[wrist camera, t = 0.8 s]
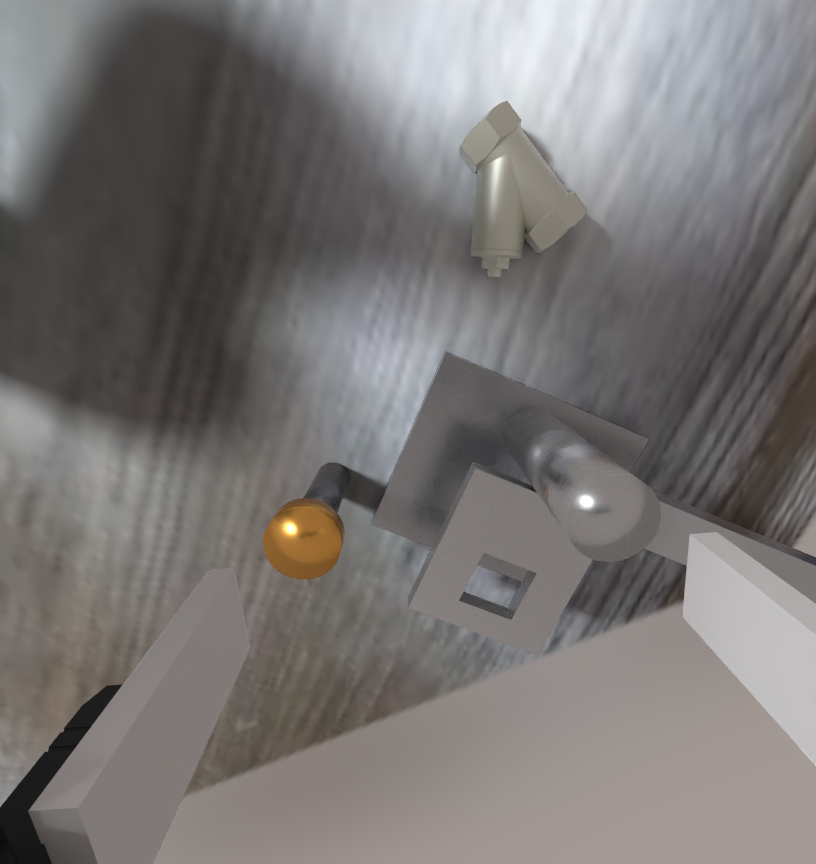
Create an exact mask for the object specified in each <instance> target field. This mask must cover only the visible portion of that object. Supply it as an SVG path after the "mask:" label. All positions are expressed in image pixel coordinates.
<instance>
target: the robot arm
mask: <svg viewBox="0 0 816 864" xmlns="http://www.w3.org/2000/svg"><path fill="white" fill-rule="evenodd" d="M682 616H683V618H684V619H685V620H686V621H687V622H688V623H689V625H690V626H691V627H692V628H693V629H694V630H695V631H696V633H697V634H698V635H699V636H700V637H701V638H702V639H703V640H704V642H705V643H706V644H707V645H708V646H709V647H710V648H711V649H712V650H713V652H715V654H716V655H717V656H718V657H719V658H720V659H721V661H722V662H723V663H724V664H725V665H726V666H727V667H728V668H729V670H730V671H731V672H732V673H733V674H734V675H735V676H736V677H737V678H738V680H739V681H740V682H741V683H742V684H743V685H744V686H745V687H746V688H747V690H748V691H749V692H750V693H751V694H752V695H753V696H754V697H755V699H756V700H757V701H758V702H759V703H760V704H761V705H762V706H763V708H764V709H765V710H766V711H767V712H768V713H769V714H770V715H771V716H772V718H773V719H774V720H775V721H776V722H777V723H778V724H779V725H780V726H781V728H782V729H783V730H784V731H785V732H786V733H787V734H788V735H789V737H790V738H791V739H792V740H793V741H794V742H795V743H796V744H797V746H798V747H799V748H800V749H801V750H802V751H803V752H804V753H805V755H806V756H807V757H808V758H809V759H810V760H811V761H812V762H813V764H814V765H815V766H816V604H815V603H814V602H813V601H811V600H810V599H808V598H807V597H806V596H804V595H803V594H802V593H800V592H799V591H797V590H796V589H795V588H793V587H792V586H790V585H789V584H788V583H786V582H785V581H784V580H782V579H781V578H779V577H778V576H777V575H775V574H774V573H773V572H771V571H770V570H768V569H767V568H766V567H764V566H763V565H761V564H760V563H759V562H757V561H756V560H755V559H753V558H752V557H750V556H749V555H748V554H746V553H745V552H744V551H742V550H741V549H739V548H738V547H737V546H735V545H734V544H732V543H731V542H730V541H728V540H727V539H726V538H724V537H723V536H721V535H720V534H719V533H717V532H711V533H697V534H690V536H689V548H688V559H687V570H686V582H685V593H684V604H683V615H682ZM249 650H250V643H249V638H248V633H247V628H246V623H245V618H244V613H243V608H242V603H241V598H240V593H239V588H238V583H237V578H236V573H235V568H229V569H216V570H208V571H207V572H206V574H205V575H204V576H203V578H202V579H201V580H200V582H199V583H198V584H197V586H196V587H195V589H194V590H193V591H192V593H191V594H190V595H189V597H188V598H187V599H186V601H185V602H184V603H183V605H182V606H181V607H180V609H179V610H178V611H177V613H176V614H175V615H174V617H173V618H172V619H171V621H170V622H169V623H168V625H167V626H166V627H165V629H164V630H163V631H162V633H161V634H160V635H159V637H158V638H157V639H156V641H155V642H154V643H153V645H152V646H151V647H150V649H149V650H148V651H147V653H146V654H145V655H144V657H143V658H142V659H141V661H140V662H139V663H138V665H137V666H136V667H135V669H134V670H133V672H132V673H131V674H130V676H129V677H128V678H127V680H126V681H125V682H124V684H123V685H110V686H106V687H105V688H104V689H102V690H101V691H100V692H99V693H97V694H96V695H95V696H94V697H92V698H91V699H90V700H89V701H87V702H86V703H85V704H84V705H83V706H82V707H81V708H80V709H79V710H78V712H77V713H76V714H75V715H74V717H73V718H72V719H71V720H70V722H69V723H68V724H67V725H66V727H65V728H64V732H62V733H60V734H59V735H58V736H57V738H56V739H55V740H54V741H53V743H52V744H51V745H50V746H49V750H48V752H45V753H44V754H43V755H42V756H41V757H40V759H39V760H38V761H37V762H36V764H35V765H34V766H33V767H32V769H31V770H30V771H29V772H28V774H27V775H26V776H25V777H24V779H23V780H22V781H21V782H20V783H19V785H18V786H17V787H16V788H15V790H14V791H13V792H12V793H11V795H10V796H9V797H8V798H7V800H6V801H5V802H4V803H3V804H2V806H1V807H0V864H153V862H154V860H155V858H156V855H157V853H158V851H159V849H160V847H161V844H162V842H163V840H164V838H165V835H166V833H167V831H168V829H169V827H170V824H171V822H172V820H173V818H174V816H175V813H176V811H177V809H178V807H179V805H180V802H181V800H182V798H183V796H184V794H185V791H186V789H187V787H188V785H189V783H190V780H191V778H192V776H193V774H194V772H195V769H196V767H197V765H198V763H199V760H200V758H201V756H202V754H203V752H204V749H205V747H206V745H207V743H208V741H209V738H210V736H211V734H212V732H213V730H214V727H215V725H216V723H217V721H218V719H219V716H220V714H221V712H222V710H223V708H224V705H225V703H226V701H227V699H228V696H229V694H230V692H231V690H232V688H233V685H234V683H235V681H236V679H237V677H238V674H239V672H240V670H241V668H242V666H243V663H244V661H245V659H246V657H247V655H248V652H249Z"/></svg>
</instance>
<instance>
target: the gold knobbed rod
mask: <svg viewBox="0 0 816 864" xmlns="http://www.w3.org/2000/svg"><path fill="white" fill-rule="evenodd" d="M348 482H349V474H348V472H347V470H346V469H345V468H344V467H343V466H342V465H340V464H338V463H327V464H325V465H323V466H322V467H321V468H320V470H319V471H318V473H317V475H316V477H315V478H314V480H313V482H312V484H311V485H310V487H309V489H308V491H307V492H306V494H305V496H304V498H303V499H296V500H293V501H291V502H288V503H287V504H285V505H284V506H282V507H281V508H280V509H279V510H278V512H277V513H276V515H275V516H274V518H273V519H272V521H271V522H270V524H269V525H268V527H267V529H266V531H265V534H264V539H263V546H264V551H265V554H266V556H267V558H268V560H269V562H270V563H271V564H272V565H273V567H275V568H276V569H277V570H278V571H279V572H281V573H282V574H284V575H286V576H289V577H292V578H295V579H313V578H317V577H320V576H322V575H324V574H325V573H327V572H328V571H329V570H331V569H332V568H333V566H334V565H335V564H336V562H337V560H338V558H339V555H340V552H341V548H342V545H343V541H344V526H343V523H342V520H341V518H340V517H339V515H338V514H337V512H338V510H339V507H340V504H341V501H342V498H343V496H344V493H345V490H346V487H347V485H348Z"/></svg>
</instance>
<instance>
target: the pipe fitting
mask: <svg viewBox="0 0 816 864" xmlns="http://www.w3.org/2000/svg"><path fill="white" fill-rule="evenodd" d="M520 127H521V119H520V118H519V116H518V115H517V114H516V112H515V111H514V110H513V108H512V107H511V105H510V104H509V103H508V101H505V102H502V103H500V104H498V105H497V106H496V107H494V108H493V109H492V110H491V111H490V112H489V113H488V114H487V115H486V116H485V117H484V118H483V119H482V120H481V121H480V122H479V123H478V124H477V125H476V126H475V127H474V128H473V130H472V131H471V132H470V133H469V134H468V136H467V137H466V138H465V140H464V141H463V143H462V144H461V146H460V148H459V152H460V156H461V157H462V158H463V160H464V161H465V162H466V164H467V165H468V166H469V167H470V169H471V170H472V171H473V172H478V175H477V187H476V198H475V209H474V220H473V231H472V243H471V254H470V255H471V256H473V257H481V258H482V263H481V268H484V269H488V271H487V277H501V270H507V269H509V262H510V259H520V258H522V253H523V244H524V238H525V240H526V241H527V242H528V243H529V245H530V246H531V247H532V249H533V250H534V251H535V252H536V253H542V252H543V251H545V250H546V249H547V248H549V247H550V246H551V245H553V244H554V243H555V242H556V241H558V240H559V239H560V238H561V237H563V236H564V235H565V234H566V233H567V232H568V231H569V230H571V229H572V228H573V227H574V226H575V225H576V224H577V223H578V222H579V221H580V220H581V219H582V218H583V217H584V216H585V214H586V212H587V209H586V208H585V206H584V205H583V204H582V202H581V201H580V199H579V198H578V197H577V195H576V194H575V193H574V192H571V193H568V192H567V190H566V189H565V187H564V186H563V185H562V183H561V182H560V181H559V179H558V178H557V176H556V175H555V174H554V172H553V171H552V170H551V168H550V167H549V166H548V164H547V163H546V161H545V160H544V159H543V157H542V156H541V155H540V153H539V152H538V151H537V149H536V148H535V147H534V145H533V144H532V143H531V141H530V140H529V139H528V137H527V136H526V134H525V133H524V132H523V130H522V129H521V128H520Z"/></svg>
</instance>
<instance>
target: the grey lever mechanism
mask: <svg viewBox="0 0 816 864" xmlns="http://www.w3.org/2000/svg"><path fill="white" fill-rule="evenodd" d="M648 441H649V439H648V438H646V437H644V436H642V435H640V434H638V433H635V432H633V431H631V430H628V429H626V428H624V427H621V426H619V425H616V424H614V423H612V422H609V421H607V420H605V419H602V418H600V417H598V416H595V415H593V414H591V413H588V412H586V411H584V410H581V409H579V408H577V407H574V406H572V405H570V404H567V403H565V402H563V401H560V400H558V399H556V398H553V397H551V396H549V395H546V394H544V393H542V392H539V391H537V390H535V389H532V388H530V387H528V386H525V385H523V384H521V383H518V382H516V381H514V380H511V379H509V378H506V377H504V376H502V375H499V374H497V373H495V372H492V371H490V370H488V369H485V368H483V367H481V366H478V365H476V364H474V363H471V362H469V361H467V360H464V359H462V358H460V357H457V356H455V355H453V354H450V353H448V352H446V351H445V352H444V355H443V357H442V359H441V362H440V364H439V366H438V369H437V371H436V373H435V375H434V378H433V380H432V382H431V385H430V387H429V389H428V392H427V394H426V396H425V399H424V401H423V403H422V405H421V408H420V410H419V412H418V415H417V417H416V419H415V422H414V424H413V426H412V428H411V431H410V433H409V435H408V438H407V440H406V442H405V445H404V447H403V449H402V452H401V454H400V456H399V458H398V461H397V463H396V465H395V468H394V470H393V472H392V475H391V477H390V479H389V481H388V484H387V486H386V488H385V491H384V493H383V495H382V498H381V500H380V502H379V505H378V507H377V509H376V511H375V514H374V516H373V518H372V523H371V524H372V525H374V526H377V527H380V528H382V529H385V530H388V531H390V532H393V533H395V534H398V535H401V536H403V537H406V538H408V539H411V540H414V541H416V542H419V543H421V544H424V545H427V546H429V547H432V548H431V550H430V552H429V554H428V556H427V559H426V561H425V563H424V565H423V567H422V569H421V571H420V573H419V575H418V577H417V579H416V582H415V584H414V586H413V588H412V590H411V592H410V594H409V596H408V608H410V609H413V610H416V611H418V612H421V613H424V614H427V615H429V616H432V617H435V618H437V619H440V620H443V621H446V622H448V623H451V624H454V625H457V626H459V627H462V628H465V629H467V630H470V631H473V632H476V633H478V634H481V635H484V636H486V637H489V638H492V639H495V640H497V641H500V642H503V643H505V644H508V645H511V646H514V647H516V648H519V649H522V650H525V651H527V652H530V653H533V654H535V655H538V653H539V652H540V650H541V648H542V646H543V645H544V643H545V641H546V640H547V638H548V636H549V634H550V633H551V631H552V629H553V627H554V626H555V624H556V622H557V621H558V619H559V617H560V615H561V614H562V612H563V610H564V609H565V607H566V605H567V603H568V602H569V600H570V598H571V597H572V595H573V593H574V591H575V590H576V588H577V586H578V584H579V583H580V581H581V579H582V578H583V576H584V574H585V572H586V571H587V569H588V567H589V566H590V564H591V562H592V560H596V561H602V562H616V561H621V560H625V559H628V558H630V557H632V556H634V555H636V554H638V553H639V552H641V551H642V550H643V549H646V550H649V551H651V552H654V553H656V554H659V555H661V556H664V557H666V558H669V559H671V560H674V561H676V562H679V563H681V564H684V565H686V566H687V559H688V548H689V536H690V534H697V533H711V532H717V533H719V534H720V535H721V536H723V537H724V538H726V539H727V540H728V541H730V542H731V543H732V544H734V545H735V546H737V547H738V548H739V549H741V550H742V551H744V552H745V553H746V554H748V555H749V556H750V557H752V558H753V559H755V560H756V561H757V562H759V563H760V564H761V565H763V566H764V567H766V568H767V569H768V570H770V571H771V572H773V573H774V574H775V575H777V576H778V577H779V578H781V579H782V580H784V581H785V582H786V583H788V584H789V585H790V586H792V587H793V588H795V589H796V590H797V591H799V592H800V593H802V594H803V595H804V596H806V597H807V598H808V599H810V600H811V601H813V602H814V603H815V604H816V558H815V557H813V556H811V555H808V554H805V553H803V552H801V551H799V550H796V549H794V548H791V547H789V546H787V545H784V544H782V543H779V542H777V541H775V540H772V539H770V538H767V537H765V536H763V535H760V534H758V533H755V532H753V531H750V530H748V529H746V528H743V527H741V526H738V525H736V524H734V523H731V522H729V521H726V520H724V519H722V518H719V517H717V516H714V515H712V514H710V513H707V512H705V511H702V510H700V509H698V508H695V507H693V506H690V505H688V504H686V503H683V502H681V501H678V500H676V499H673V498H671V497H669V496H666V495H664V494H661V493H659V492H657V491H654V490H652V489H651V488H650V487H649V486H648V485H646V484H645V483H644V482H642V481H641V480H639V479H638V478H637V477H635V476H634V475H633V474H631V473H630V472H631V470H632V468H633V467H634V465H635V463H636V461H637V460H638V458H639V456H640V454H641V453H642V451H643V449H644V447H645V446H646V444H647V442H648ZM477 565H479V566H482V567H484V568H487V569H489V570H492V571H495V572H497V573H500V574H502V575H505V576H508V577H510V578H513V579H516V580H518V581H521V584H520V586H519V588H518V589H517V591H516V593H515V595H514V597H513V599H512V600H511V602H510V604H509V606H508V608H505V607H503V606H500V605H497V604H495V603H492V602H489V601H487V600H484V599H481V598H479V597H476V596H473V595H471V594H468V593H465V592H464V590H465V588H466V586H467V584H468V582H469V580H470V578H471V576H472V574H473V572H474V570H475V568H476V566H477Z"/></svg>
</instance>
